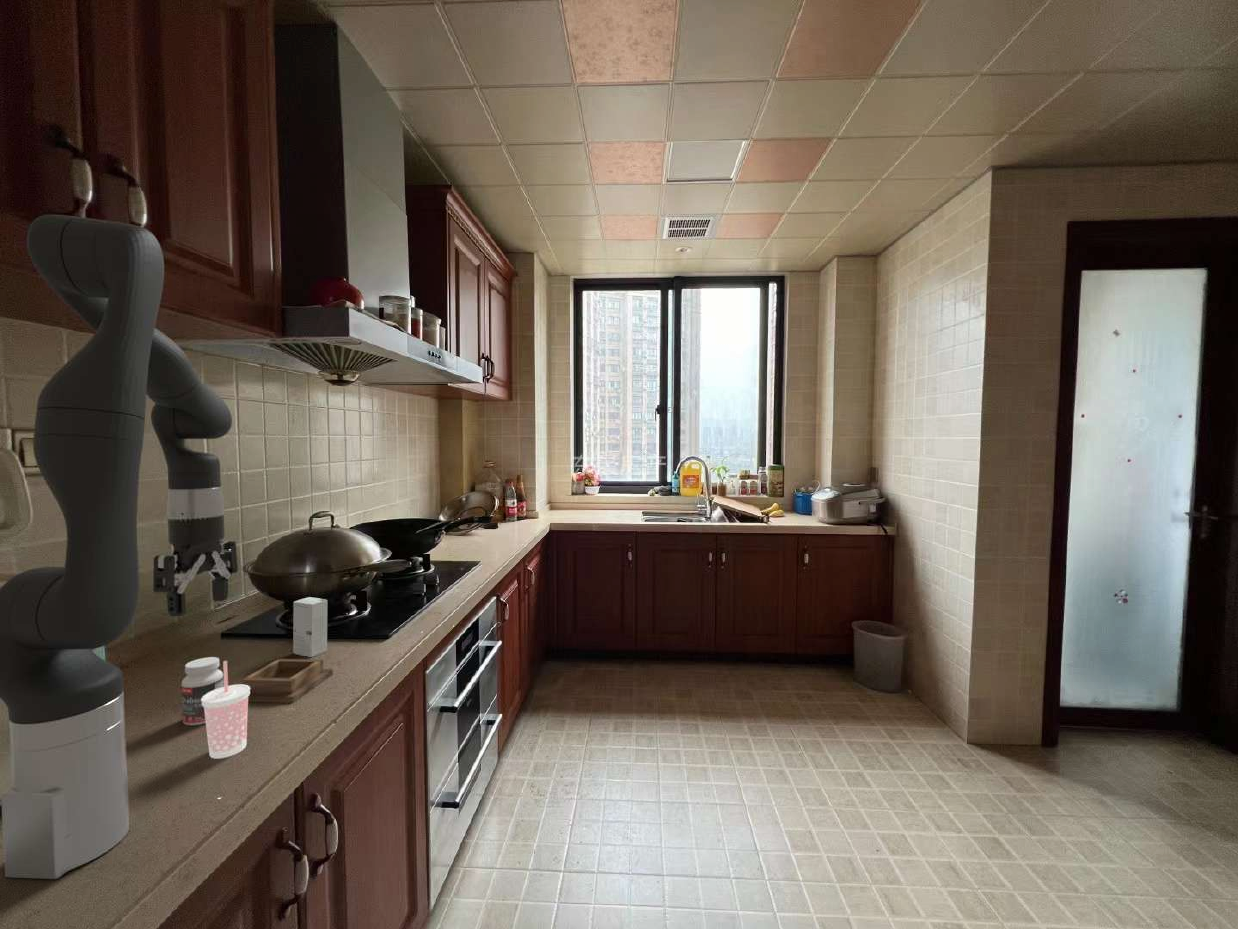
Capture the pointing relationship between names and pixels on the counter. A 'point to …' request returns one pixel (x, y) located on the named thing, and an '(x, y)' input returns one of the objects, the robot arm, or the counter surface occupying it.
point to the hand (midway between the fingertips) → (200, 607)
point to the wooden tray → (285, 680)
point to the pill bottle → (199, 688)
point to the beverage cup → (226, 718)
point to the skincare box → (310, 626)
